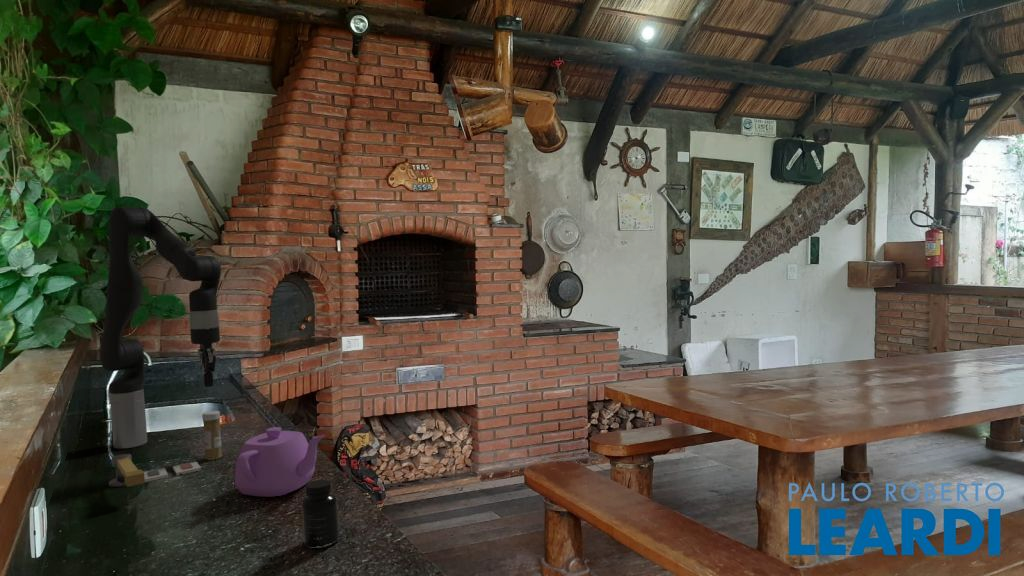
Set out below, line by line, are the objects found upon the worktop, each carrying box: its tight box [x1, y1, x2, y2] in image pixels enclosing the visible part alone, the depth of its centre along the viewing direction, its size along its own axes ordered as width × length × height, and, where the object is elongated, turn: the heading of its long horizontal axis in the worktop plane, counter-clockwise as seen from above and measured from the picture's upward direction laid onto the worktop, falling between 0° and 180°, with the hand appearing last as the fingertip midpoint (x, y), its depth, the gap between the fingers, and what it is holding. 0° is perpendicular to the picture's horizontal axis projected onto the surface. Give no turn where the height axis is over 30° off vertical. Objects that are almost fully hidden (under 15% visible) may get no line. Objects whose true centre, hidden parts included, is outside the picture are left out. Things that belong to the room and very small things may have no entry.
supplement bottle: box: [301, 479, 340, 547], centre depth 129 cm, size 7×7×12 cm
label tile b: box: [172, 460, 202, 476], centre depth 177 cm, size 7×6×1 cm
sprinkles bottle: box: [201, 410, 223, 461], centre depth 187 cm, size 5×5×14 cm
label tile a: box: [143, 467, 169, 483], centre depth 173 cm, size 7×6×1 cm
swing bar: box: [111, 453, 146, 488], centre depth 161 cm, size 4×22×2 cm, turn 39°
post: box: [108, 467, 127, 488], centre depth 169 cm, size 6×6×5 cm
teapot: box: [234, 426, 326, 498], centre depth 157 cm, size 23×21×15 cm
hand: (208, 386), depth 186 cm, fingers closed
